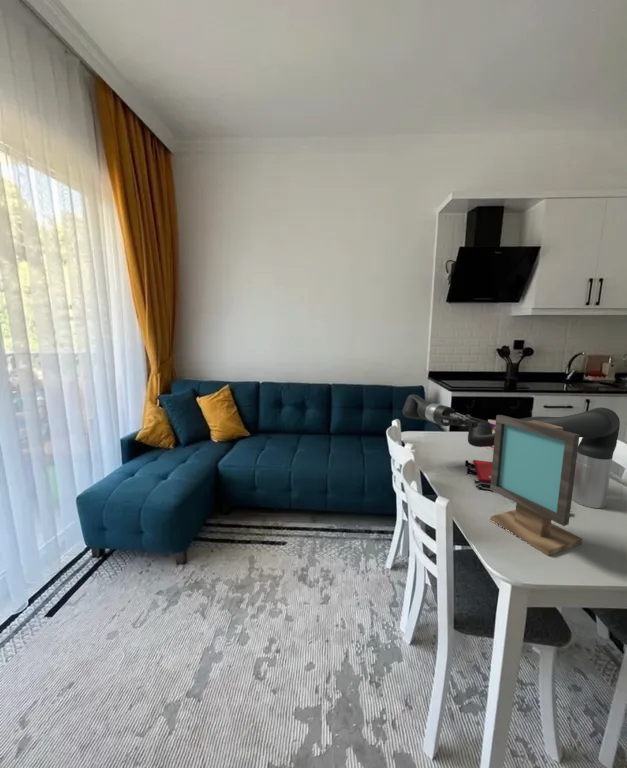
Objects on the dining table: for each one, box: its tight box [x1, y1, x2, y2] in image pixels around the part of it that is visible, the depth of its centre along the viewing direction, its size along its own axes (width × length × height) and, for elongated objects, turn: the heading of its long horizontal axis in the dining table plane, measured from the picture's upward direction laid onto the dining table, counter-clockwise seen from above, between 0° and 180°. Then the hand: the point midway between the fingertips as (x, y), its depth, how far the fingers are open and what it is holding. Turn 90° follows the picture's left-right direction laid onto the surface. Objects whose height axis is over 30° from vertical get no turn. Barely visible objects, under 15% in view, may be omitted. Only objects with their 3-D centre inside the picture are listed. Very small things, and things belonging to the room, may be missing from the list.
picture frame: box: [489, 414, 580, 527], centre depth 96 cm, size 2×22×24 cm, turn 22°
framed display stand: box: [489, 420, 583, 557], centre depth 98 cm, size 14×18×33 cm
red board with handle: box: [464, 459, 493, 490], centre depth 140 cm, size 30×3×15 cm
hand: (476, 424), depth 118 cm, fingers closed
